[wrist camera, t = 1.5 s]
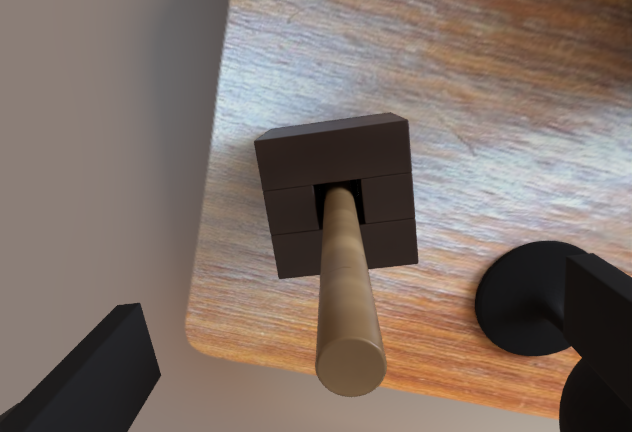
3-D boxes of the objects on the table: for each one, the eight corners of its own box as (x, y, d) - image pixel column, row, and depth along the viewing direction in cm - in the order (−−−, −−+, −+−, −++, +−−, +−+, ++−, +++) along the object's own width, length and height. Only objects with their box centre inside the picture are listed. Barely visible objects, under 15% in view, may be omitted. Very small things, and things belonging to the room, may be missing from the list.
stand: (270, 129, 30) (253, 140, 24) (391, 112, 30) (408, 119, 23) (289, 240, 33) (278, 279, 26) (400, 227, 32) (418, 264, 26)
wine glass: (561, 213, 32) (915, 407, 12) (629, 307, 34) (1021, 596, 15) (448, 292, 34) (600, 557, 15) (518, 375, 36) (731, 701, 17)
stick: (324, 169, 31) (310, 341, 10) (348, 166, 31) (384, 333, 10) (327, 192, 32) (320, 401, 11) (350, 189, 32) (390, 395, 11)
